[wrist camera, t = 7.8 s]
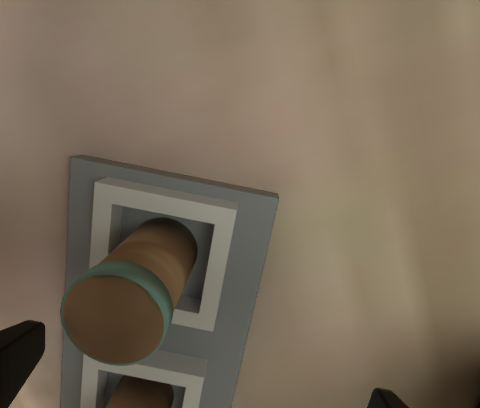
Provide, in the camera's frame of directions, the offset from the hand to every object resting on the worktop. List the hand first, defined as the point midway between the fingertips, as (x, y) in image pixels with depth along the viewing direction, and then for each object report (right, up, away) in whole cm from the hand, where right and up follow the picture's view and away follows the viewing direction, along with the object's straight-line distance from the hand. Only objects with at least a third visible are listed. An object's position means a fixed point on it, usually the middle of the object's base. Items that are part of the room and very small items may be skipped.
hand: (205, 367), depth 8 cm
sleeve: (-4, +2, +11) cm, 11 cm away
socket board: (-5, -3, +13) cm, 14 cm away
